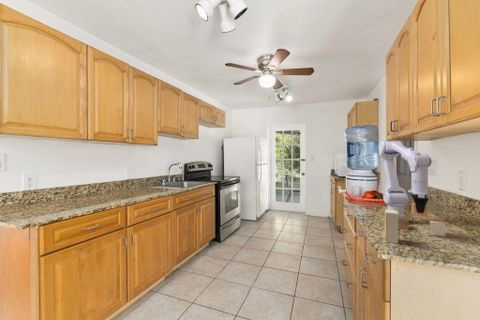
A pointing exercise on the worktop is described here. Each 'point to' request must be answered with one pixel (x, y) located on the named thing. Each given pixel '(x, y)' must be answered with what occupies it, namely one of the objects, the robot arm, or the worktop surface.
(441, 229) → the beige cube
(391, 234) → the skincare box
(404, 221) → the walnut cube
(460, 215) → the worktop surface
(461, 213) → the worktop surface
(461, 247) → the worktop surface
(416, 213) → the terracotta cube
